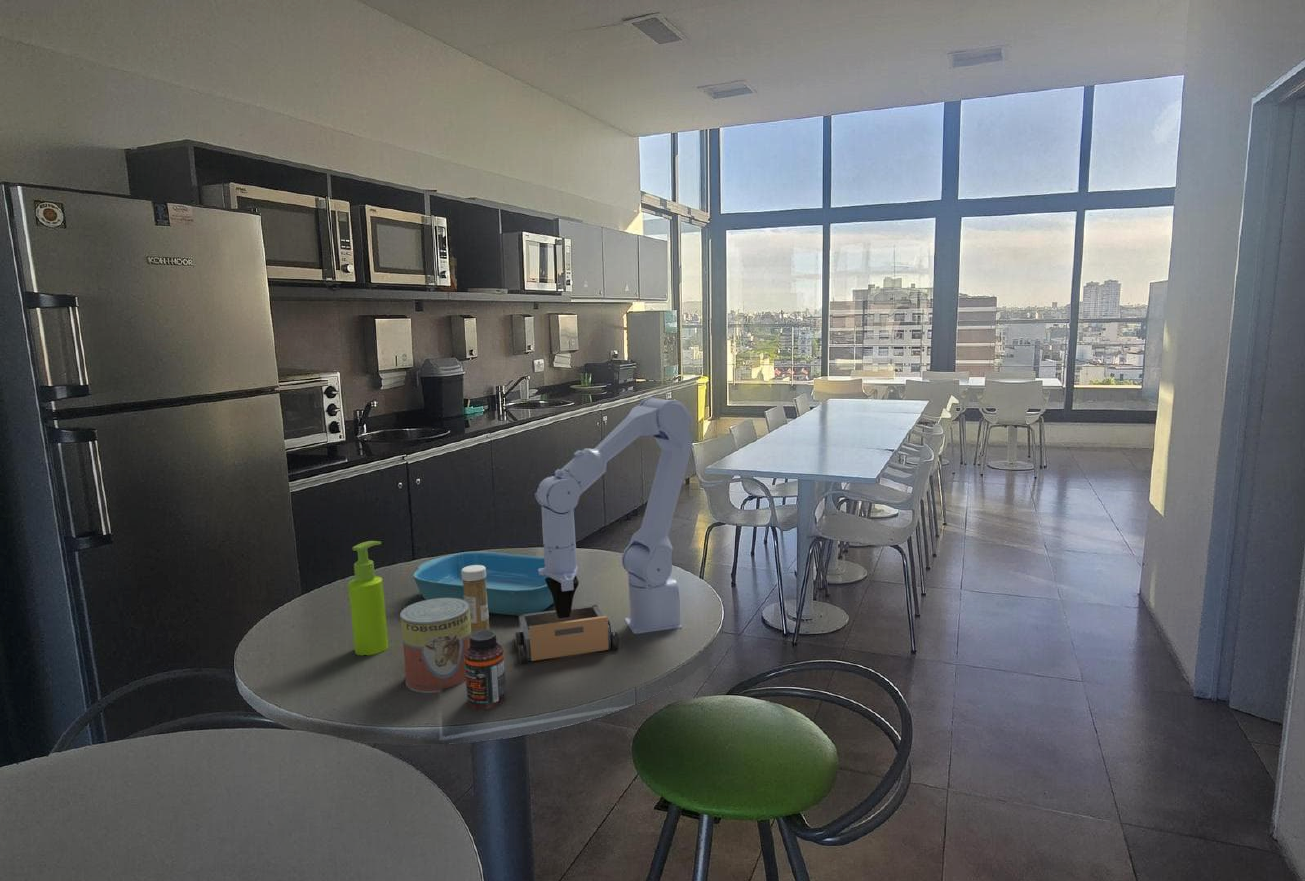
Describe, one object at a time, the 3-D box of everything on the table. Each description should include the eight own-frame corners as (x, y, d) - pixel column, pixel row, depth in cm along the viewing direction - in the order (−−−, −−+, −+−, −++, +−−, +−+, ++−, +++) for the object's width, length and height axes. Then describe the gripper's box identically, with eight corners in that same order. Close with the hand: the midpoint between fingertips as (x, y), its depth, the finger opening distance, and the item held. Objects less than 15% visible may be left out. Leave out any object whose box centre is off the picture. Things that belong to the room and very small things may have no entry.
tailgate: (607, 647, 135) (606, 615, 134) (608, 649, 134) (607, 617, 133) (531, 659, 132) (528, 626, 131) (531, 661, 131) (529, 628, 130)
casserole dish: (595, 589, 170) (593, 558, 168) (548, 626, 149) (545, 591, 148) (456, 576, 182) (453, 547, 181) (394, 609, 162) (391, 576, 161)
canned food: (412, 699, 121) (406, 627, 119) (400, 672, 130) (394, 605, 129) (482, 682, 126) (477, 613, 124) (465, 657, 136) (461, 593, 134)
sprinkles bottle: (494, 636, 144) (489, 568, 143) (471, 642, 142) (465, 573, 140) (485, 628, 148) (480, 562, 146) (462, 634, 146) (457, 567, 144)
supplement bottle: (459, 709, 117) (454, 639, 115) (482, 691, 122) (477, 624, 121) (492, 715, 115) (487, 644, 113) (513, 697, 120) (509, 629, 118)
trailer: (603, 625, 148) (602, 603, 147) (618, 652, 135) (617, 628, 134) (513, 638, 143) (512, 615, 142) (521, 667, 130) (519, 642, 130)
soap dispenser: (399, 642, 143) (390, 540, 140) (371, 657, 137) (361, 550, 134) (375, 638, 145) (366, 537, 143) (347, 652, 139) (337, 547, 136)
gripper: (532, 536, 141) (536, 605, 143) (542, 557, 128) (547, 634, 130) (569, 532, 143) (573, 600, 145) (583, 553, 129) (587, 628, 131)
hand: (563, 616), depth 138 cm, fingers closed
